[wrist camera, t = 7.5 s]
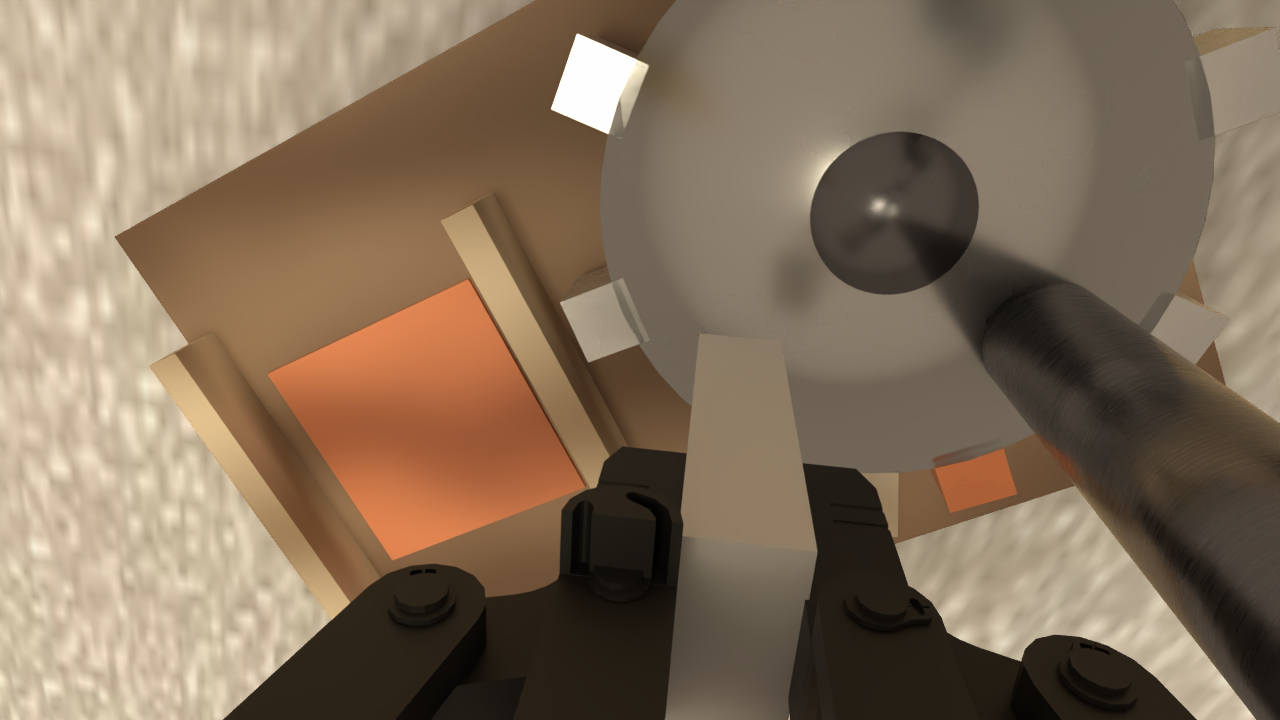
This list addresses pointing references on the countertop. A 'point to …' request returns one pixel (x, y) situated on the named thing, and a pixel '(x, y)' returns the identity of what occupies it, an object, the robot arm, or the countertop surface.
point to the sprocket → (957, 256)
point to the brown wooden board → (436, 324)
